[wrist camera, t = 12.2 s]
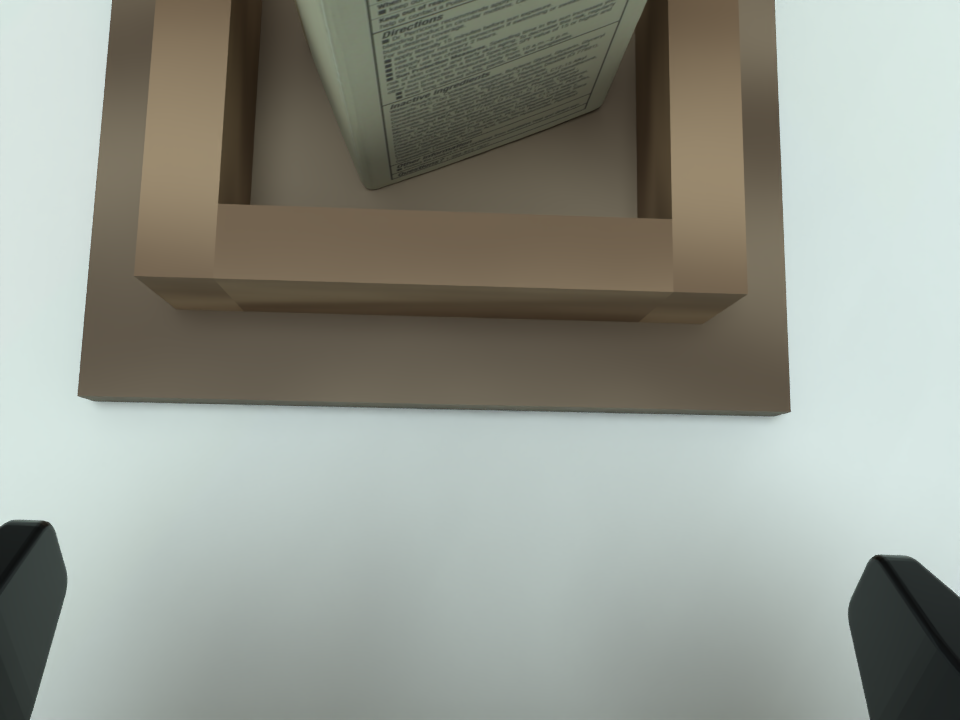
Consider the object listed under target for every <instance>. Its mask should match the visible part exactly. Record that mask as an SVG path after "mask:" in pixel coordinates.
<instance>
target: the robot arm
mask: <svg viewBox="0 0 960 720" xmlns="http://www.w3.org/2000/svg"><path fill="white" fill-rule="evenodd" d="M66 589H67V572H66V567H65V564H64V560H63V557H62V553H61V550H60V546H59V543H58V540H57V536H56V533H55V530H54V528H53V526H52V525H51V524H50V523H49V522H46V521H37V520H11V521H9V522H7V523H5V524H3V525H2V526H0V720H30V717H31V714H32V711H33V708H34V704H35V701H36V697H37V694H38V690H39V687H40V683H41V680H42V676H43V673H44V669H45V665H46V662H47V658H48V655H49V651H50V648H51V644H52V641H53V637H54V633H55V630H56V626H57V623H58V619H59V616H60V612H61V609H62V605H63V602H64V598H65V594H66ZM848 620H849V626H850V630H851V635H852V639H853V644H854V649H855V653H856V658H857V662H858V667H859V671H860V676H861V680H862V685H863V689H864V694H865V699H866V703H867V708H868V712H869V717H870V720H960V597H959V596H958V595H957V594H956V593H954V592H953V591H952V590H951V589H950V588H948V587H947V586H946V585H945V584H944V583H943V582H941V581H940V580H939V579H938V578H937V577H936V576H934V575H933V574H932V573H931V572H930V571H929V570H927V569H926V568H925V567H924V566H923V565H922V564H920V563H919V562H918V561H917V560H915V559H913V558H912V557H909V556H901V555H875V556H874V557H872V558H871V559H870V560H869V562H868V563H867V565H866V568H865V570H864V572H863V574H862V576H861V578H860V580H859V583H858V585H857V587H856V589H855V591H854V593H853V596H852V598H851V600H850V603H849V608H848Z"/></svg>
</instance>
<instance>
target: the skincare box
mask: <svg viewBox="0 0 960 720" xmlns="http://www.w3.org/2000/svg"><path fill="white" fill-rule="evenodd" d="M294 1H295V4H296V8H297V11H298V15H299V18H300V22H301V25H302V29H303V32H304V35H305V39H306V41H307V44H308V46H309V49H310V52H311V55H312V58H313V60H314V63H315V66H316V68H317V71H318V74H319V77H320V79H321V82H322V85H323V87H324V90H325V92H326V95H327V98H328V100H329V103H330V105H331V108H332V110H333V113H334V116H335V118H336V121H337V123H338V126H339V128H340V131H341V134H342V136H343V139H344V141H345V144H346V146H347V149H348V151H349V153H350V156H351V158H352V161H353V163H354V166H355V168H356V170H357V173H358V175H359V178H360V180H361V182H362V183H363V185H364V186H365V187H366V188H368V189H372V190H374V189H379V188H381V187H384V186H387V185H390V184H394V183H397V182H400V181H402V180H405V179H408V178H411V177H414V176H417V175H420V174H423V173H426V172H429V171H432V170H435V169H437V168H440V167H443V166H446V165H449V164H452V163H454V162H457V161H460V160H463V159H465V158H468V157H471V156H473V155H476V154H479V153H482V152H485V151H488V150H490V149H493V148H496V147H498V146H501V145H504V144H507V143H509V142H512V141H515V140H518V139H520V138H523V137H526V136H529V135H531V134H534V133H537V132H539V131H542V130H545V129H548V128H550V127H553V126H555V125H558V124H560V123H563V122H565V121H568V120H570V119H573V118H575V117H578V116H580V115H583V114H585V113H588V112H590V111H593V110H595V109H597V108H599V107H600V106H601V105H602V104H603V102H604V100H605V97H606V95H607V93H608V90H609V88H610V86H611V83H612V81H613V79H614V77H615V74H616V72H617V70H618V67H619V65H620V62H621V60H622V58H623V55H624V53H625V51H626V48H627V46H628V44H629V41H630V39H631V37H632V34H633V32H634V29H635V27H636V25H637V22H638V20H639V18H640V16H641V14H642V11H643V9H644V7H645V4H646V2H647V0H294Z"/></svg>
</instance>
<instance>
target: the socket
mask: <svg viewBox="0 0 960 720" xmlns="http://www.w3.org/2000/svg"><path fill="white" fill-rule="evenodd" d="M78 396H79V397H82V398H86V399H89V400H92V401H110V402H155V403H200V404H245V405H290V406H335V407H380V408H425V409H471V410H516V411H561V412H606V413H651V414H696V415H741V416H777V415H781V414H785V413H788V412H791V409H790V384H789V358H788V332H787V307H786V281H785V256H784V230H783V204H782V179H781V153H780V127H779V102H778V76H777V51H776V25H775V0H647V2H646V4H645V7H644V9H643V11H642V14H641V16H640V18H639V20H638V22H637V25H636V27H635V29H634V32H633V34H632V37H631V39H630V41H629V44H628V46H627V48H626V51H625V53H624V55H623V58H622V60H621V62H620V65H619V67H618V70H617V72H616V74H615V77H614V79H613V81H612V83H611V86H610V88H609V90H608V93H607V95H606V97H605V100H604V102H603V104H602V105H601V106H600V107H599V108H597V109H595V110H593V111H590V112H588V113H585V114H583V115H580V116H578V117H575V118H573V119H570V120H568V121H565V122H563V123H560V124H558V125H555V126H553V127H550V128H548V129H545V130H542V131H539V132H537V133H534V134H531V135H529V136H526V137H523V138H520V139H518V140H515V141H512V142H509V143H507V144H504V145H501V146H498V147H496V148H493V149H490V150H488V151H485V152H482V153H479V154H476V155H473V156H471V157H468V158H465V159H463V160H460V161H457V162H454V163H452V164H449V165H446V166H443V167H440V168H437V169H435V170H432V171H429V172H426V173H423V174H420V175H417V176H414V177H411V178H408V179H405V180H402V181H400V182H397V183H394V184H390V185H387V186H384V187H381V188H379V189H374V190H372V189H368V188H366V187H365V186H364V185H363V183H362V182H361V180H360V178H359V175H358V173H357V170H356V168H355V166H354V163H353V161H352V158H351V156H350V153H349V151H348V149H347V146H346V144H345V141H344V139H343V136H342V134H341V131H340V128H339V126H338V123H337V121H336V118H335V116H334V113H333V110H332V108H331V105H330V103H329V100H328V98H327V95H326V92H325V90H324V87H323V85H322V82H321V79H320V77H319V74H318V71H317V68H316V66H315V63H314V60H313V58H312V55H311V52H310V49H309V46H308V44H307V41H306V39H305V35H304V32H303V29H302V25H301V22H300V18H299V15H298V11H297V8H296V4H295V1H294V0H112V9H111V21H110V32H109V43H108V55H107V66H106V78H105V89H104V100H103V112H102V123H101V134H100V146H99V157H98V169H97V180H96V191H95V203H94V214H93V226H92V237H91V248H90V260H89V271H88V282H87V294H86V305H85V317H84V328H83V339H82V351H81V362H80V374H79V385H78Z"/></svg>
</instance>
